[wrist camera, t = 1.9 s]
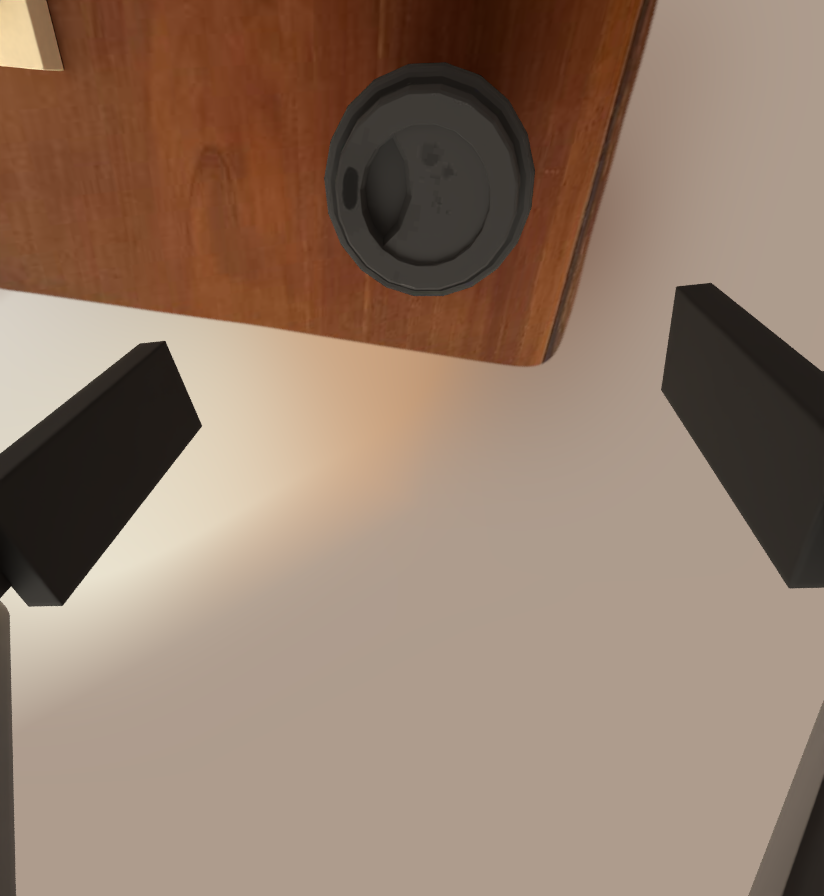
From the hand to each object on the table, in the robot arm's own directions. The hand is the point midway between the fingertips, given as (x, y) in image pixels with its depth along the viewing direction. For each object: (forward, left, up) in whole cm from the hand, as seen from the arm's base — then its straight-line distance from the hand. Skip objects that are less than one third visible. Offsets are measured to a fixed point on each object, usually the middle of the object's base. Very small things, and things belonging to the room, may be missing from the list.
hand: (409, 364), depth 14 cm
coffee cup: (0, -1, -31) cm, 31 cm away
